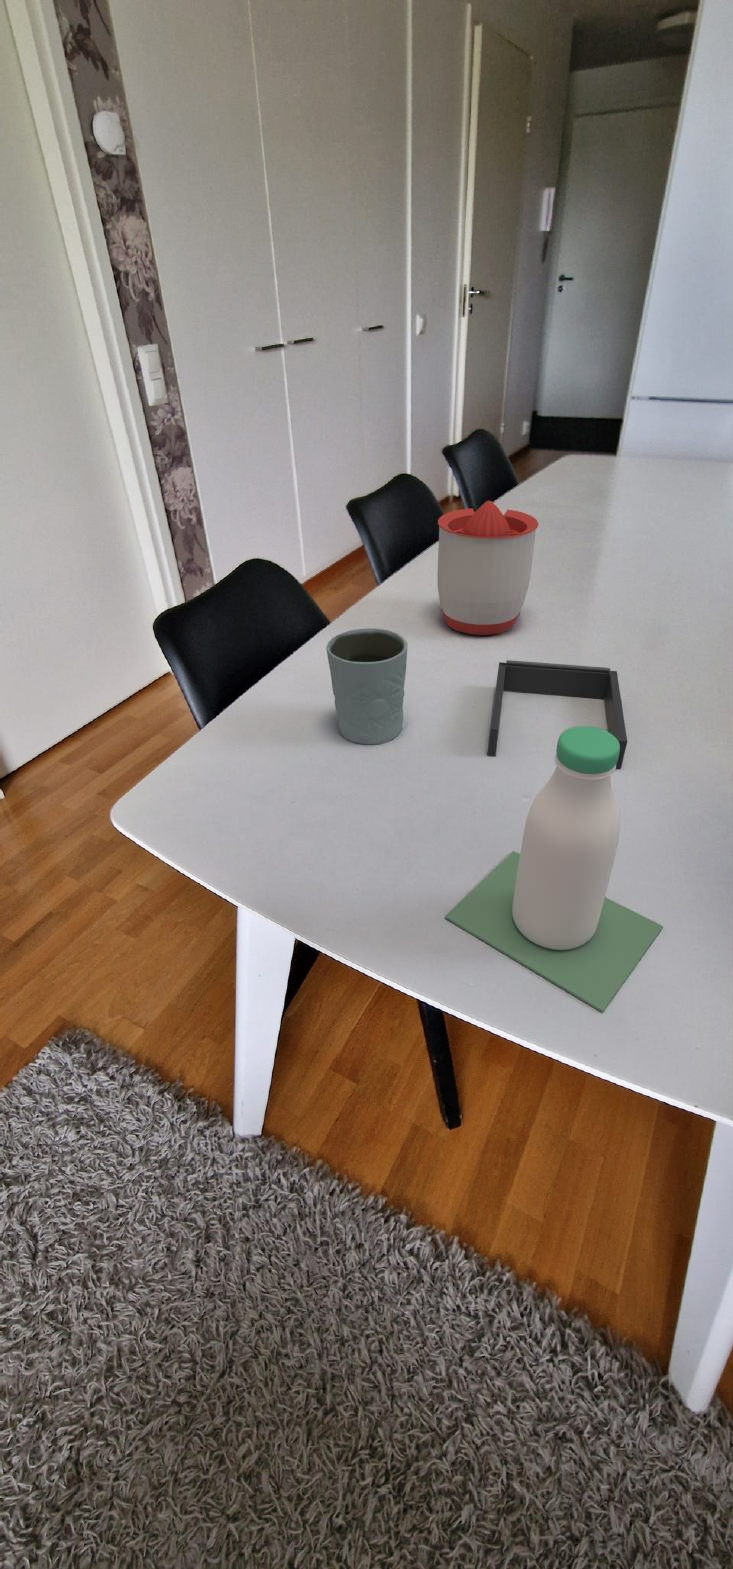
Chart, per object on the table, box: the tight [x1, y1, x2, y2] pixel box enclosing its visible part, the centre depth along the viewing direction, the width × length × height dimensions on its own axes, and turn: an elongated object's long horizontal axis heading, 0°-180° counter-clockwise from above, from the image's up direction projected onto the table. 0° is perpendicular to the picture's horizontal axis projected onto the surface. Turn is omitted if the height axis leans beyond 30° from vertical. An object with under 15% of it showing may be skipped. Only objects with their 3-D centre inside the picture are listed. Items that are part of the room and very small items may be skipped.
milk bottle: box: [512, 725, 621, 950], centre depth 59 cm, size 8×8×20 cm
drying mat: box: [444, 850, 664, 1014], centre depth 65 cm, size 16×12×1 cm
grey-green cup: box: [326, 627, 409, 746], centre depth 90 cm, size 10×10×12 cm
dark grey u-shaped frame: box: [487, 659, 628, 770], centre depth 92 cm, size 18×16×5 cm
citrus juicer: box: [436, 500, 539, 636], centre depth 115 cm, size 16×17×20 cm
